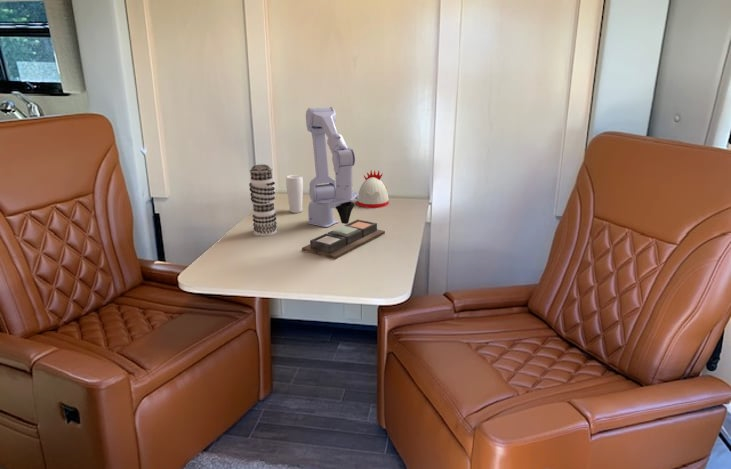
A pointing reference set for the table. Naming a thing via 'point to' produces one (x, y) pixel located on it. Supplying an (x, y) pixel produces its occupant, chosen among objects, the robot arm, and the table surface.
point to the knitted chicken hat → (373, 192)
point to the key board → (344, 241)
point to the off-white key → (328, 240)
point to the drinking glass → (295, 192)
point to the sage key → (345, 230)
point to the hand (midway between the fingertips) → (344, 223)
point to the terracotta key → (360, 225)
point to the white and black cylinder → (263, 200)
